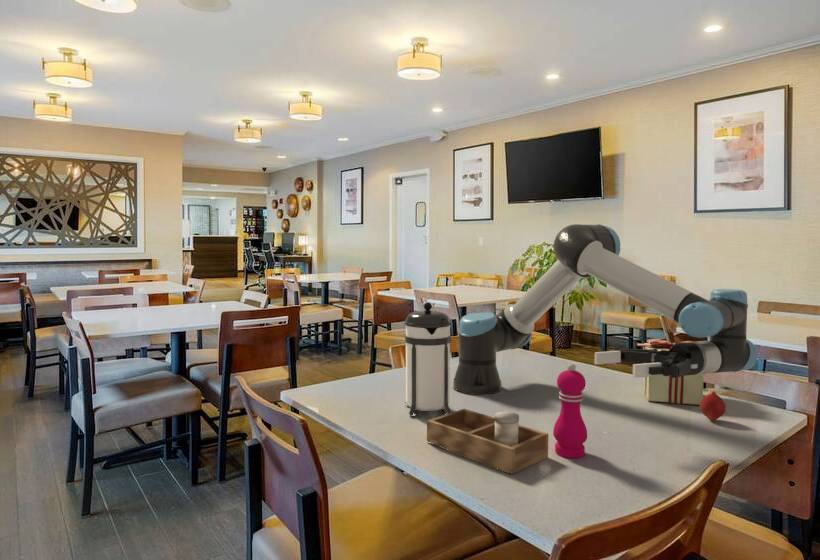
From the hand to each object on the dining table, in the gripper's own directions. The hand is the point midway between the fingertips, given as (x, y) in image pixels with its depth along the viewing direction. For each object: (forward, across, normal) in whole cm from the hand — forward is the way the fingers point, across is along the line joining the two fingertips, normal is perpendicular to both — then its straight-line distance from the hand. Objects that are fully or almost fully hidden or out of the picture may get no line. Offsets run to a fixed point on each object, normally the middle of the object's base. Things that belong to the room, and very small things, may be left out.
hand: (613, 364), depth 121 cm
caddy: (+27, +8, -19) cm, 34 cm away
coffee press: (+32, +39, -19) cm, 54 cm away
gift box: (-42, +32, -20) cm, 57 cm away
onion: (-37, +10, -20) cm, 43 cm away
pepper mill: (+10, +1, -20) cm, 22 cm away
